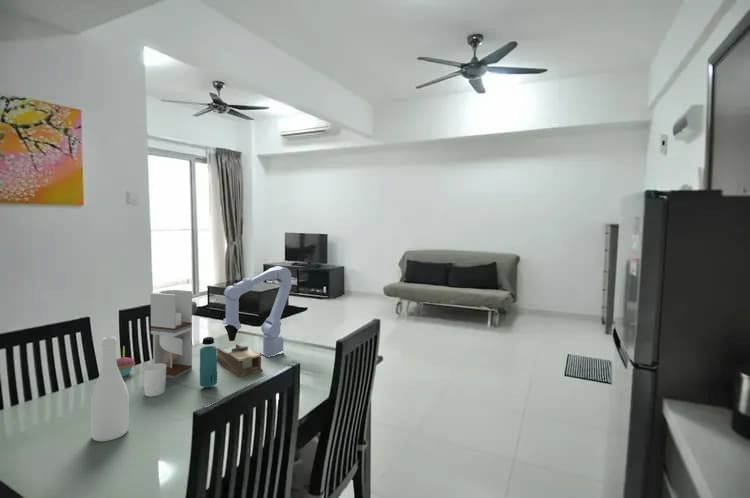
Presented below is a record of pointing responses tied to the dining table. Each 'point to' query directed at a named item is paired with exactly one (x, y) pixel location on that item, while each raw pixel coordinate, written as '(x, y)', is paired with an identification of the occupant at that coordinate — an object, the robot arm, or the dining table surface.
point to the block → (246, 364)
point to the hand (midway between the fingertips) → (232, 340)
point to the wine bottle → (109, 398)
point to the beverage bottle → (208, 363)
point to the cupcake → (125, 364)
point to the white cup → (154, 379)
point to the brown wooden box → (237, 363)
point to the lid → (243, 353)
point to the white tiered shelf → (172, 330)
